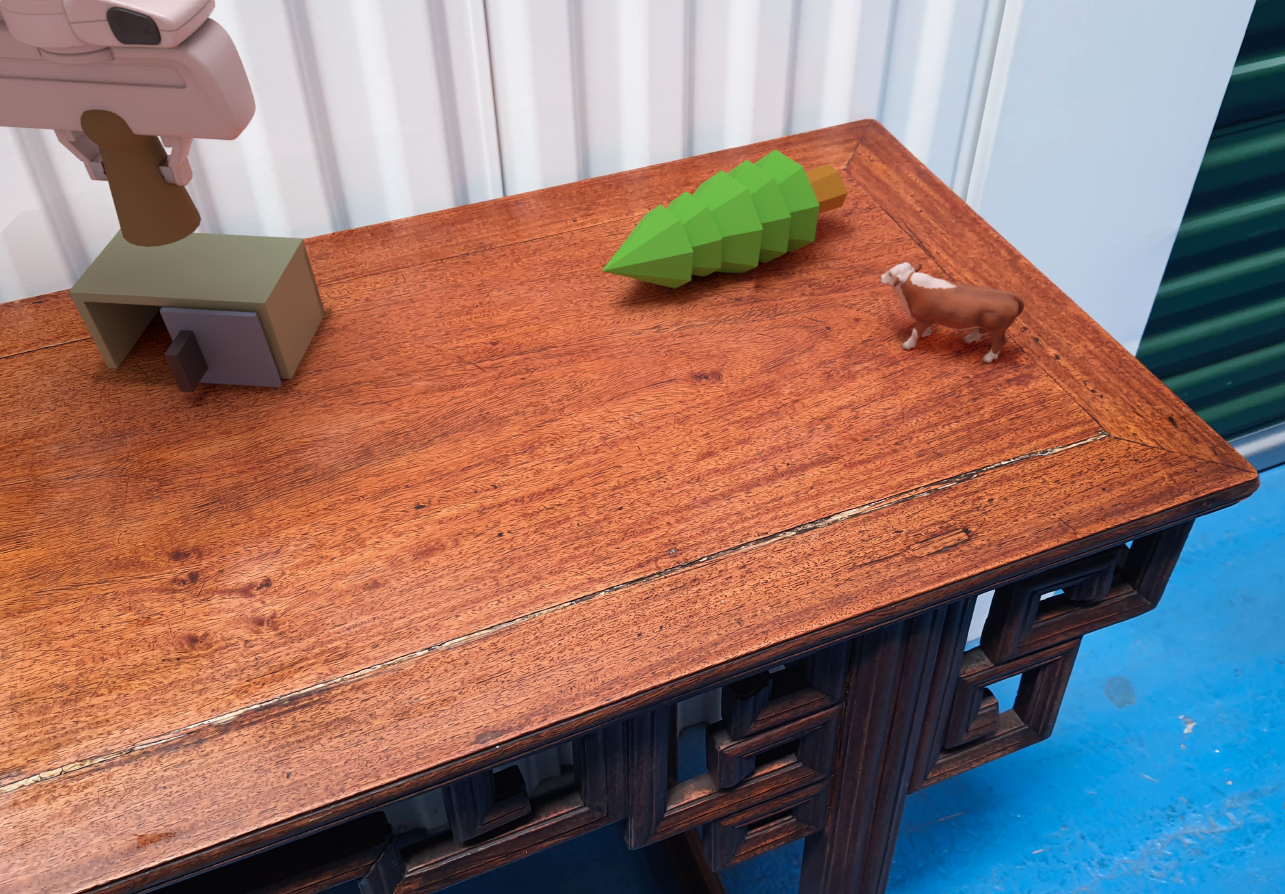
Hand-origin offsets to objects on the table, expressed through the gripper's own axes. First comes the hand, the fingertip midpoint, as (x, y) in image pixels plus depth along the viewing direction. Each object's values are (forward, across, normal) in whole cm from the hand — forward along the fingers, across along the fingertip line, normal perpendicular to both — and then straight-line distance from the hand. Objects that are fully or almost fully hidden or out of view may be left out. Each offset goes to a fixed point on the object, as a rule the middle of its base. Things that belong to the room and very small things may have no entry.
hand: (143, 179), depth 77 cm
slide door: (+22, +1, -1) cm, 22 cm away
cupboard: (+23, -3, +6) cm, 24 cm away
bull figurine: (+22, +66, +14) cm, 72 cm away
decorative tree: (+22, +44, +25) cm, 56 cm away
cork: (+4, 0, 0) cm, 4 cm away
